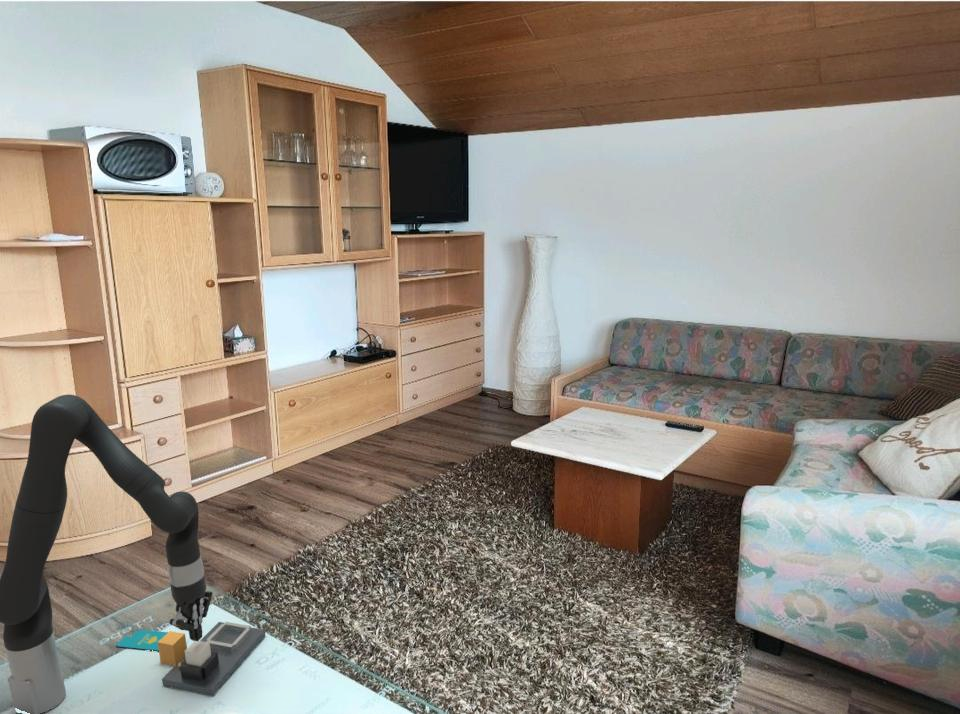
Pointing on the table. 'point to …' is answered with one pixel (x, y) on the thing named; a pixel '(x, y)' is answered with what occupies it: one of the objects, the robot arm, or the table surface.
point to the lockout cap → (172, 647)
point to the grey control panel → (216, 659)
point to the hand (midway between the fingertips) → (196, 638)
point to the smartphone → (142, 640)
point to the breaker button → (198, 653)
